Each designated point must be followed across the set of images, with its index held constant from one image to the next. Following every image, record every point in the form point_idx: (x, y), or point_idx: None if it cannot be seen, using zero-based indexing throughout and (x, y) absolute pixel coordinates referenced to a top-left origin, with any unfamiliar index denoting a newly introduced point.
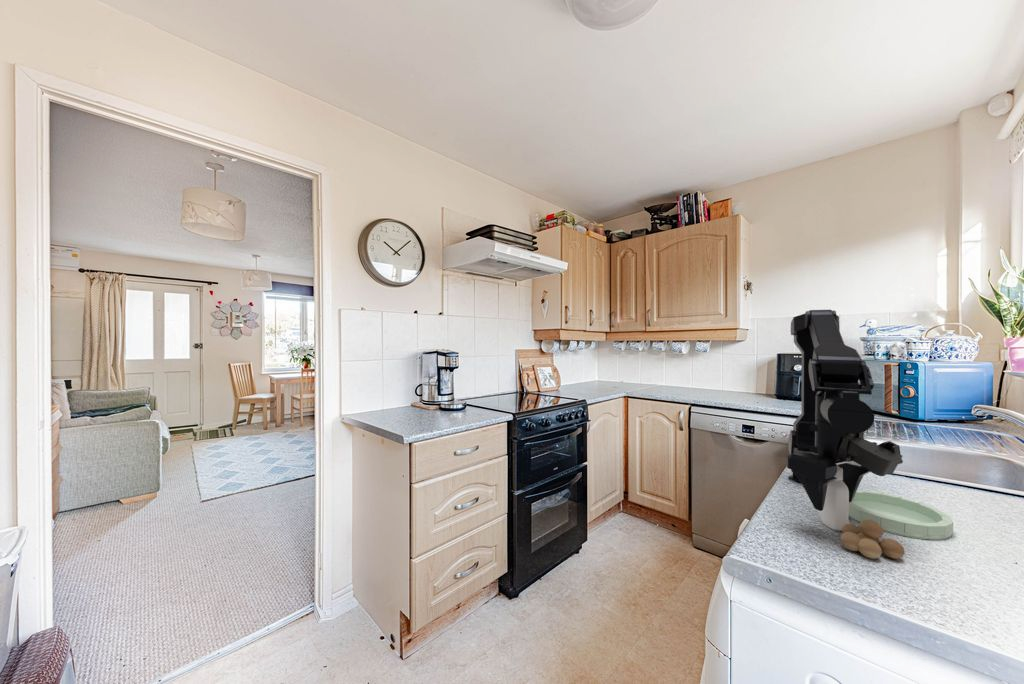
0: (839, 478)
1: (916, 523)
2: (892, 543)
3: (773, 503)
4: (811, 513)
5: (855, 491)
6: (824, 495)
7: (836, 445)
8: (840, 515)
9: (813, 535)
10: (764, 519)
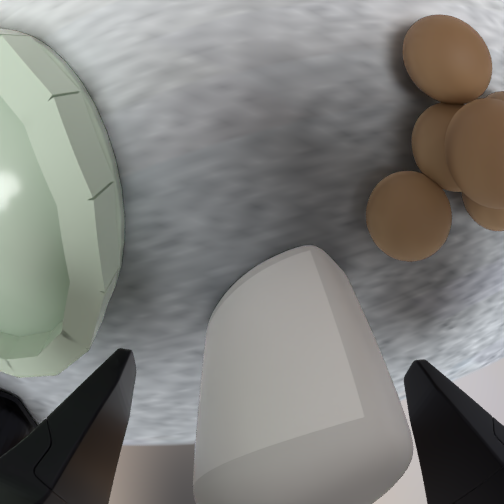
0: None
1: (9, 71)
2: (488, 57)
3: None
4: None
5: (86, 393)
6: (476, 418)
7: None
8: (360, 310)
9: (444, 290)
10: None
